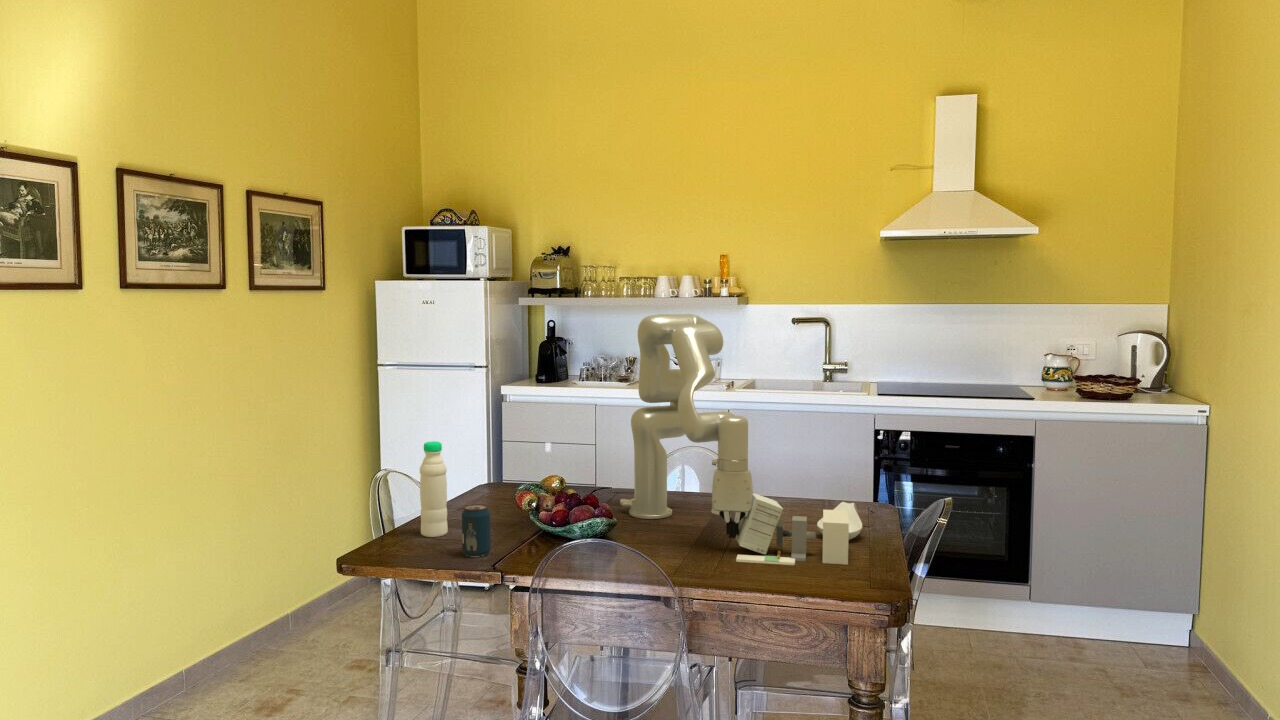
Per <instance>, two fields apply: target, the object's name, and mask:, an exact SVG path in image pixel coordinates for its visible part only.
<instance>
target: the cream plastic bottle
mask: <svg viewBox="0 0 1280 720" xmlns="http://www.w3.org/2000/svg"><path fill="white" fill-rule="evenodd" d="M442 449H443V446H442V442H440V441H435V440H433V441H427V442H424V443H423V451H424V452H423V453H424V454H425V456H424V458H423V460H422V463H421V465H420V467H419V474H420V478H419V479H420V481H419V496H420V507H421V508H420V521H421V522H420V534H421V535H422V536H423V537H426V538H438V537H443V536H445V535H447V533H448V530H449V529H448V528H449V527H448V520H447V519H448V508H447V505H448V504H447V502H448V486H447V485H448V483H447V466H446V464H445V461H444V459H443V458H442V456H441V453H442Z"/></svg>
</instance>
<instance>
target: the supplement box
mask: <svg viewBox="0 0 1280 720" xmlns="http://www.w3.org/2000/svg"><path fill="white" fill-rule="evenodd" d="M783 511H784V508H783V507H782V506H781V505H780V504H779V502H778V501H777V500H774V499H771V498H768V497H766V496H762V495H760V494H757V493H755V492H753V504H752V509H751V510H750V511H749V512H748V514H747V516H745V517H744V518H742V519H741V520H740V521H739V534H738V535H736V538H735V540H736V541H737V543H738V545H739V547H742V548H744V549H747V550H750V551H753V552H756V553H759V554H762V555H764V556H767V553H768V550H769V547H770V545H771V541H772V540H773V537H774V535H775V531H776V530H777V524H778V521H779V520H780V518H781V516H782V514H783Z"/></svg>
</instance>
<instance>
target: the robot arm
mask: <svg viewBox="0 0 1280 720" xmlns="http://www.w3.org/2000/svg"><path fill="white" fill-rule="evenodd" d="M637 343H638V346H639V353H640V354H639V355H640V356H639V357H640V359H639V369H638V370H639V373H638V375H639V376H638V396H639V398H640V400H641V401H642V402H643V403H644V402H645V403H649V404H660V403H669V405H657V406H645V407H641V408H637V409H636V410H635V411H634V412H633V413H632V416H631V419H630V427H631V432H632V438H633V449H634V452H633V453H634V455H633V456H634V464H633V465H634V468H633V469H634V477H633V478H634V497H633V498H630V499H627V498H620V501H619V504H620V506H622V507H626V508H627V507H629V508H630V509H629V510H628V512H629V513H628V514H629V516H631V517H633V518H635V519H636V518H637V519H644V520H645V519H646V520H655V519H665V518H669V517H670V516H672V515H673V509H672V508H670V507H668V455H667V451H666V449H665V446H663V444H662V442H661V441H660V440H665V439H670V438H671V439H674V438H681V437H684V436H686V438H688V440H689V441H691V442H692V443H697V444H699V443H709V442H717V458H716V459H712V460H711V466H715V467H716V468H717V469H715V470H714V473H713V478H712V487H711V488H712V490H711V511H710V512H711V513H712V514H714V515H719V516H720V517H721V518H722V519H723V520H724V521H725V524H726V526H725V527H726V530H725V531H726V535H728V539H735V540H736V535H738V534H739V524H740V522H741V519H742V518H744V517H745V516H747V514H748V512H749V511H750V510H751V509H752V504H753V493H754V486H753V478H752V473H751V470H749V421H748V419H747V418H746V417H745V416H742V415H735V414H734V413H732V412H730V411H724V410H722V411H710V412H709V411H708V412H697V410H696V409H697V408H696V406H695V402H694V393H695V392H697V391H698V390H700V389H702V388H704V387H705V386H707V385H708V384H710V383H711V382H712V381H713V380H714V378H715V376H716V372H715V368H714V365H713V364H712V361H711V358H710V356H714V355H717V354H719V353H721V351H722V350H723V347H724V337H723V334H722V332H721V330H720V328H719V327H717V325H715V324H714V323H712V322H711V321H708V320H706V319H705V318H703V317H701V316H699V315H696V314H691V313H690V314H689V313H688V314H687V313H683V314H682V313H681V314H680V313H678V314H676V313H672V314H670V313H669V314H668V313H666V314H664V313H663V314H652V315H648V316H644V317H643V318H642V319H641V320H640V322H639V324H638V327H637ZM666 345H671V347H672V349H673V352H674V355H675V358H676V361H677V364H678V367H679V368H675V369H674V368H673V369H672V368H670V359H671V356H670V352H669V350H668V348H667V346H666ZM731 512H732V513H734V512H735V515H734V518H732V517H731V516H732V515H731Z"/></svg>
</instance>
